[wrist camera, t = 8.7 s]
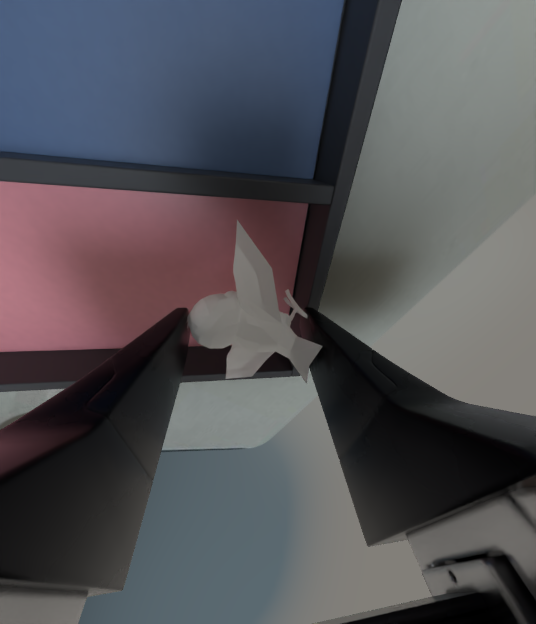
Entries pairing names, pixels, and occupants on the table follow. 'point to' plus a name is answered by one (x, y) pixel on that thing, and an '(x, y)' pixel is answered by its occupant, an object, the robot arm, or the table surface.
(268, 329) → the white bird figurine
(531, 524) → the robot arm
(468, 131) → the table surface
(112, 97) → the tray
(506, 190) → the table surface
